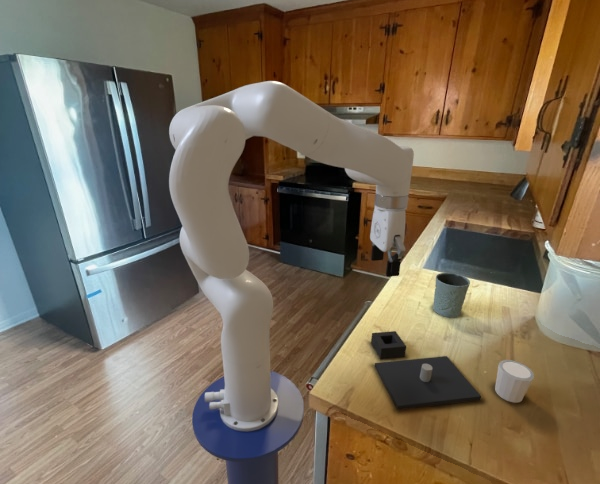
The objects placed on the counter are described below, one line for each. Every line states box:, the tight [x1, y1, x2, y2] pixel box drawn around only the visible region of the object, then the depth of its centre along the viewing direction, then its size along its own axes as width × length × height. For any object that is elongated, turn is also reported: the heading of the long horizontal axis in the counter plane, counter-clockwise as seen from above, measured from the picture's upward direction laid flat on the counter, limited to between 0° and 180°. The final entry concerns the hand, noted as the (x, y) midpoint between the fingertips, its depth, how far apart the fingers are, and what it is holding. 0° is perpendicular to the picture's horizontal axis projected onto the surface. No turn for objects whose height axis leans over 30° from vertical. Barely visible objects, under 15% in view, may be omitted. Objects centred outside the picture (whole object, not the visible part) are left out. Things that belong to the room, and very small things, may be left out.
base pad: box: [374, 355, 482, 411], centre depth 79 cm, size 20×14×5 cm
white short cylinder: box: [494, 359, 535, 404], centre depth 76 cm, size 7×7×7 cm
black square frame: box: [370, 330, 407, 360], centre depth 90 cm, size 7×7×4 cm
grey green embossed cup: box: [432, 272, 471, 318], centre depth 108 cm, size 10×10×12 cm
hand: (384, 267), depth 84 cm, fingers open, 9 cm apart
